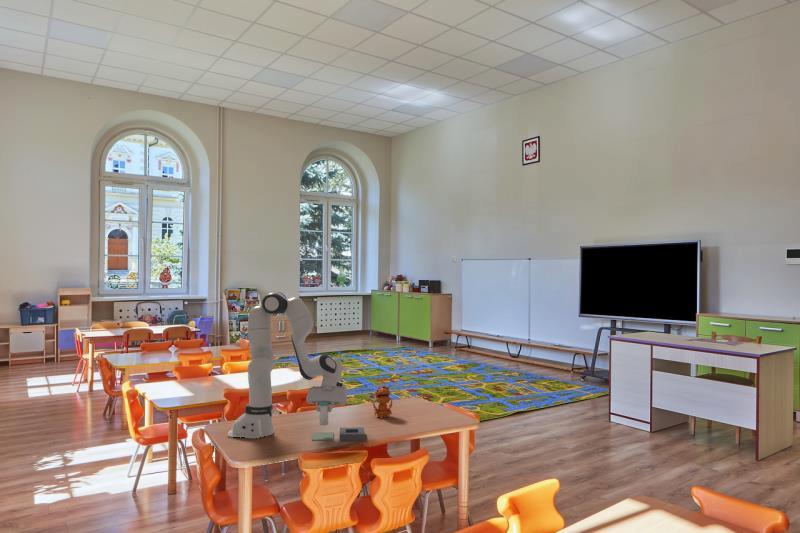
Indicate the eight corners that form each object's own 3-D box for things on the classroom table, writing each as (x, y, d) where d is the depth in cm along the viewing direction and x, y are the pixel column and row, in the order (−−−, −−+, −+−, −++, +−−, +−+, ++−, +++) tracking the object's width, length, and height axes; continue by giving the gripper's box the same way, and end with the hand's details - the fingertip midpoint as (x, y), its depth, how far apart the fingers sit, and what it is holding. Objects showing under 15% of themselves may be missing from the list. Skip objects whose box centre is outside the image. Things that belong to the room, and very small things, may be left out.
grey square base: (339, 442, 260) (339, 434, 260) (339, 435, 272) (339, 427, 272) (364, 442, 261) (364, 434, 261) (363, 435, 273) (363, 427, 273)
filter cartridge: (319, 425, 264) (319, 402, 264) (319, 423, 269) (319, 400, 269) (328, 425, 265) (328, 402, 265) (328, 423, 269) (328, 400, 269)
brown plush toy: (375, 419, 304) (375, 387, 304) (371, 415, 314) (371, 383, 314) (394, 418, 307) (395, 386, 307) (389, 414, 317) (390, 383, 317)
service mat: (311, 442, 260) (312, 439, 260) (313, 435, 272) (313, 432, 272) (333, 442, 261) (333, 439, 261) (333, 435, 273) (333, 432, 273)
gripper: (308, 382, 276) (301, 406, 266) (347, 384, 272) (342, 408, 262) (311, 389, 280) (304, 413, 270) (349, 391, 276) (344, 415, 267)
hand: (323, 411), depth 266 cm, fingers closed on filter cartridge, 4 cm apart
